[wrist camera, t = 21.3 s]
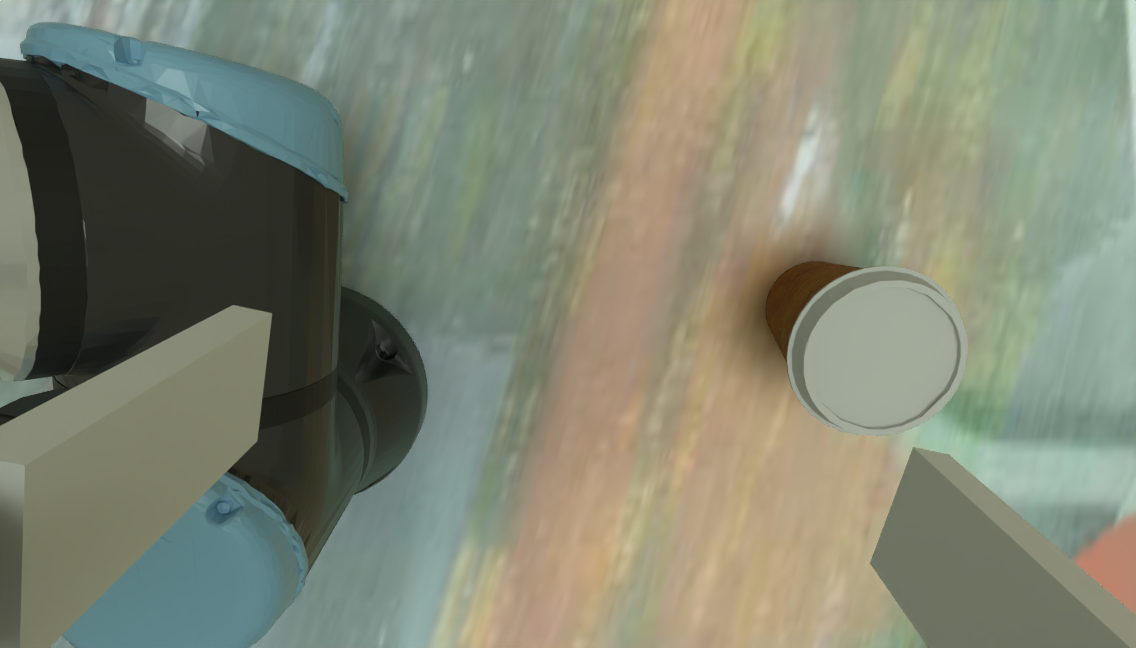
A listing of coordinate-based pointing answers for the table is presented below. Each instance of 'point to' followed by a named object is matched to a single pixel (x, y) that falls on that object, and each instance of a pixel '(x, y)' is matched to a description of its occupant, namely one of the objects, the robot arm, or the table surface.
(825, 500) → the table surface
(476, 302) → the table surface
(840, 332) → the disposable coffee cup
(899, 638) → the table surface
